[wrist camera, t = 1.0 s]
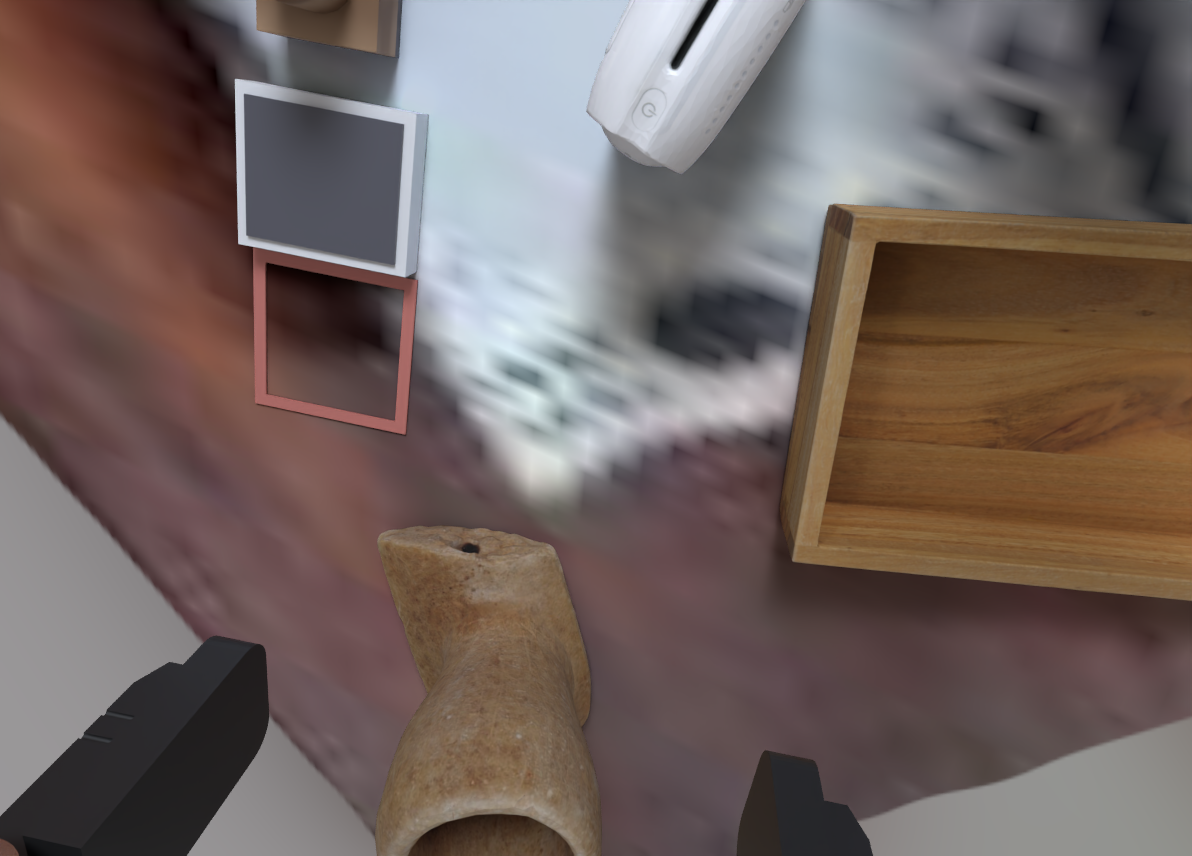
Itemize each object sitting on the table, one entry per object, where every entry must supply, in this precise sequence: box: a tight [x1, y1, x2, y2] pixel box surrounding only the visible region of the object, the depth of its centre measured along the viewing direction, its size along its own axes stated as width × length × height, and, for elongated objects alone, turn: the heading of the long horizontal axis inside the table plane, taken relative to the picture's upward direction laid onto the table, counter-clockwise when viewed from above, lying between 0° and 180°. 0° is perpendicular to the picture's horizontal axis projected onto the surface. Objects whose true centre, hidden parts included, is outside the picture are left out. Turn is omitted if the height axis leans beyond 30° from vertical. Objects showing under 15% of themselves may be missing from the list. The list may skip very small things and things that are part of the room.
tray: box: [780, 204, 1192, 601], centre depth 31 cm, size 31×15×6 cm, turn 87°
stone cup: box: [375, 525, 602, 856], centre depth 35 cm, size 15×12×15 cm
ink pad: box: [235, 79, 428, 277], centre depth 33 cm, size 7×8×2 cm
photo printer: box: [586, 0, 806, 174], centre depth 24 cm, size 10×4×12 cm, turn 148°
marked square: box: [253, 247, 418, 435], centre depth 37 cm, size 8×8×1 cm
